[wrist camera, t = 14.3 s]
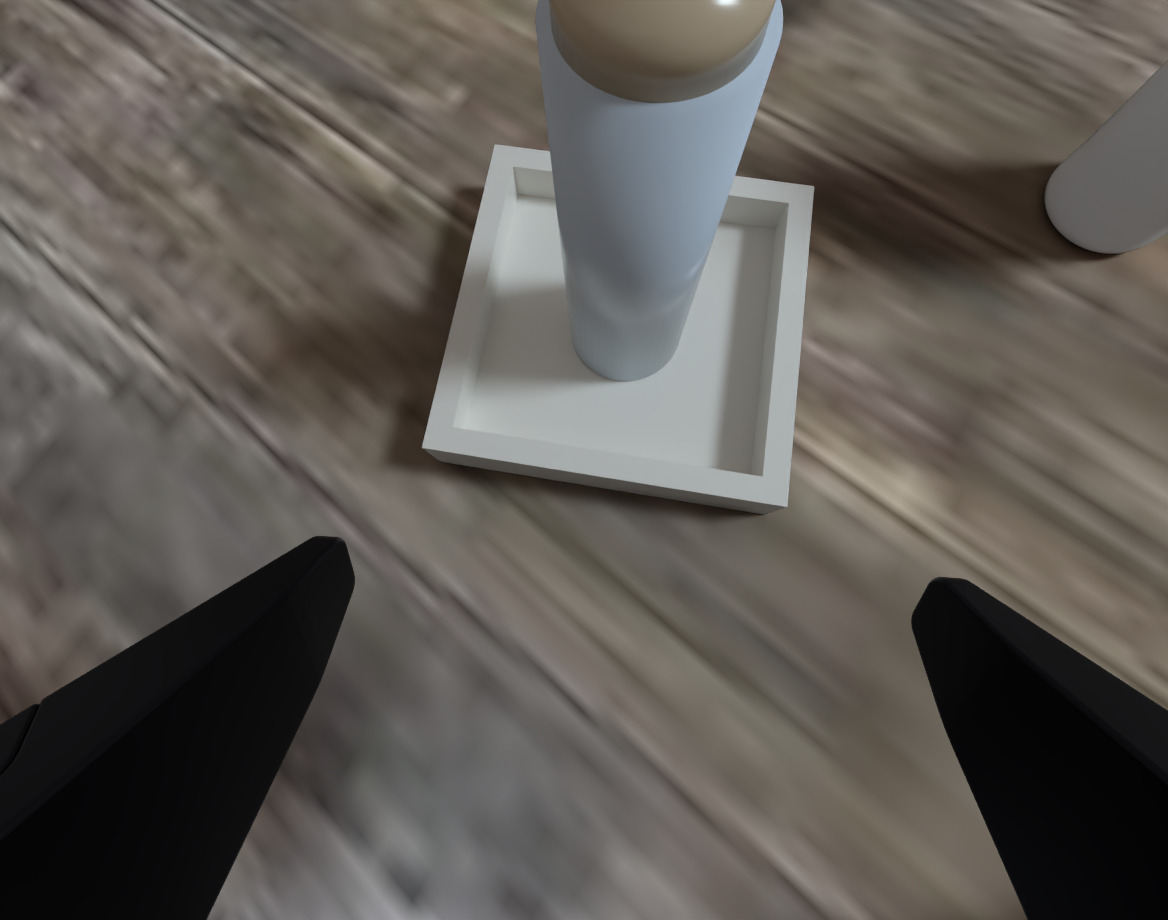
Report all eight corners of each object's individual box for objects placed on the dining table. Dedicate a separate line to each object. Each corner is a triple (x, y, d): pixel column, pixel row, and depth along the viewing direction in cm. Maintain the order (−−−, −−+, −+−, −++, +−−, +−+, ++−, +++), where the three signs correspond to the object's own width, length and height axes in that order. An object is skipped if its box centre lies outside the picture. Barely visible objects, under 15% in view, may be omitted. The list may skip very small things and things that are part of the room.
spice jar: (639, 402, 22) (709, 99, 8) (548, 342, 23) (471, -29, 9) (701, 317, 23) (859, -90, 9) (611, 262, 24) (629, -191, 10)
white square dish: (765, 514, 22) (787, 507, 19) (440, 461, 22) (421, 447, 20) (792, 224, 25) (814, 186, 22) (504, 185, 25) (495, 144, 23)
